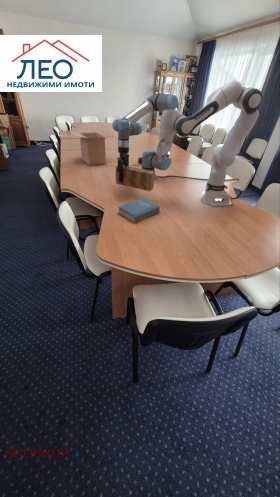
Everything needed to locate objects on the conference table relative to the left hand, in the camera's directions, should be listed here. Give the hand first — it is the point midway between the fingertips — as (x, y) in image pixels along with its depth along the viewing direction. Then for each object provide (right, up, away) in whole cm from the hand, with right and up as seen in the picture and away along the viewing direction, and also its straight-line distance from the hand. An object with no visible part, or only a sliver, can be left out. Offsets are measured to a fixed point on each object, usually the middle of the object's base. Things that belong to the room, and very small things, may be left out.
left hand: (123, 180), depth 163 cm
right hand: (+27, +9, -15) cm, 32 cm away
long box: (+8, -5, -1) cm, 10 cm away
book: (+12, -27, -16) cm, 34 cm away
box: (-37, +43, +74) cm, 93 cm away
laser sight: (+21, +41, +77) cm, 90 cm away
